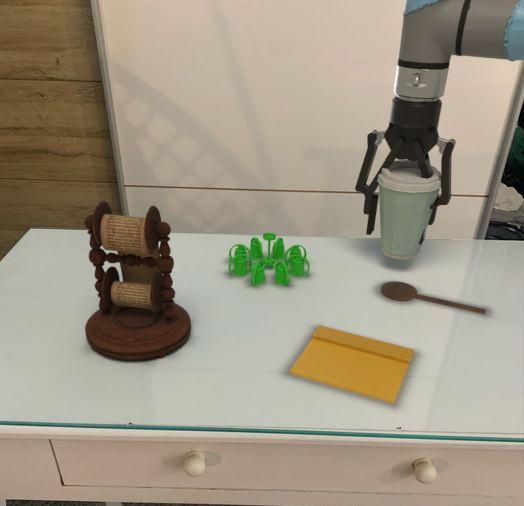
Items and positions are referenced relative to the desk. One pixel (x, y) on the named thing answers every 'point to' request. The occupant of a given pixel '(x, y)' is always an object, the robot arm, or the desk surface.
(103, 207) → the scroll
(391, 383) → the envelope
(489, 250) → the desk surface
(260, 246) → the chandelier
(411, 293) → the spoon
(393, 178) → the disposable coffee cup
